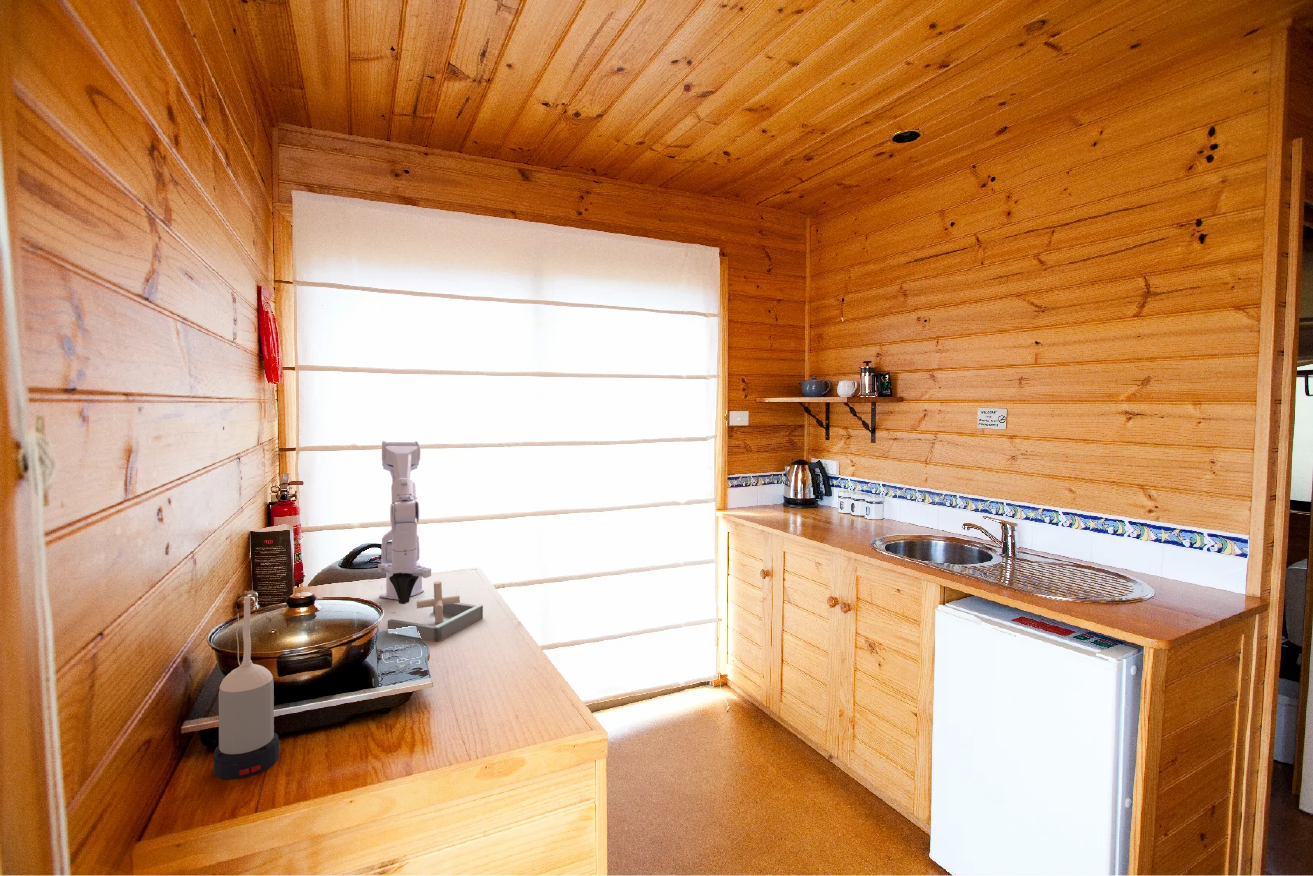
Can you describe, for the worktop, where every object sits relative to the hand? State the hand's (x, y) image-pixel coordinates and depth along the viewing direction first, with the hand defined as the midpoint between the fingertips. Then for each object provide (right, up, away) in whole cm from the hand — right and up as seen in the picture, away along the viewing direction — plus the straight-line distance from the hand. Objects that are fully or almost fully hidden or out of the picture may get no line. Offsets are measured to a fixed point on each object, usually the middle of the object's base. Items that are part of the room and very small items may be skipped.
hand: (404, 602), depth 152 cm
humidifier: (+2, -7, -62) cm, 62 cm away
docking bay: (+9, -5, -3) cm, 10 cm away
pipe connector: (+9, -5, -1) cm, 10 cm away
